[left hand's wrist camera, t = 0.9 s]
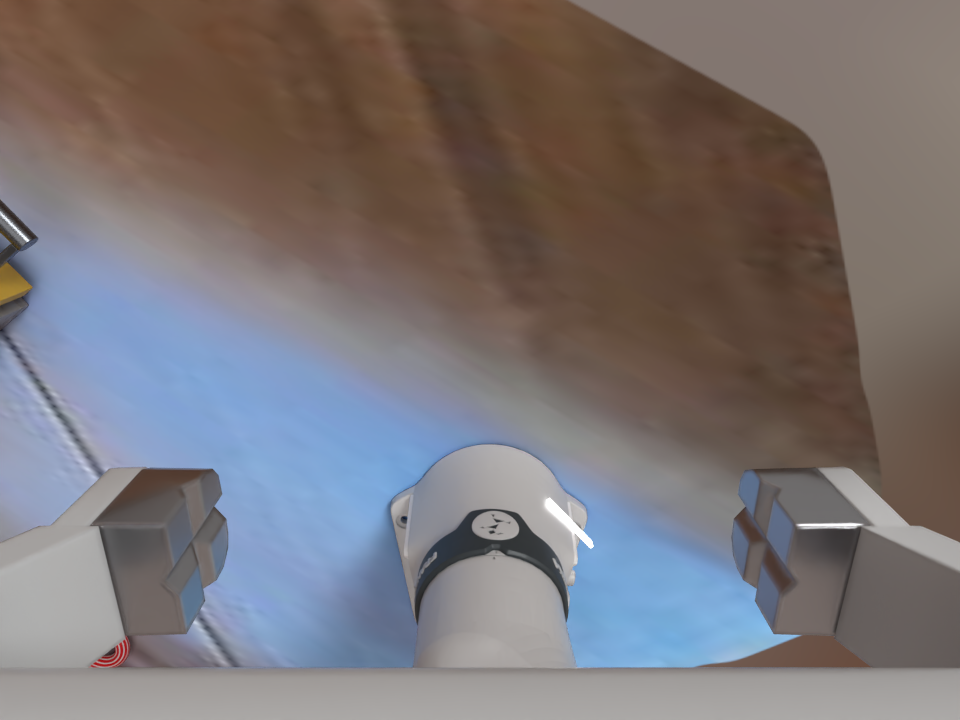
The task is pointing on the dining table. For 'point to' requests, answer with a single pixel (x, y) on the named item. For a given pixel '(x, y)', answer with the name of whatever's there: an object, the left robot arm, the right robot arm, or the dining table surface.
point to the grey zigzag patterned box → (11, 311)
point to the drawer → (3, 279)
